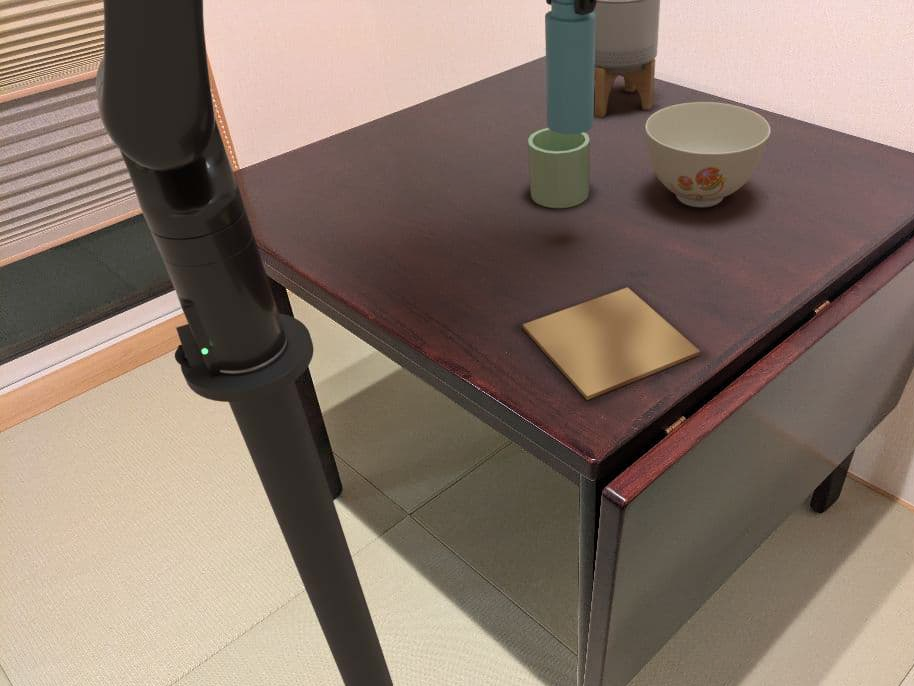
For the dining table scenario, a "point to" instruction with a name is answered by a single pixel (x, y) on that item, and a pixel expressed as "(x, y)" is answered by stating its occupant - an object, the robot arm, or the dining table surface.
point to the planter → (625, 48)
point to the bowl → (705, 149)
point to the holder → (559, 168)
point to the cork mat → (609, 342)
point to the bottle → (569, 68)
